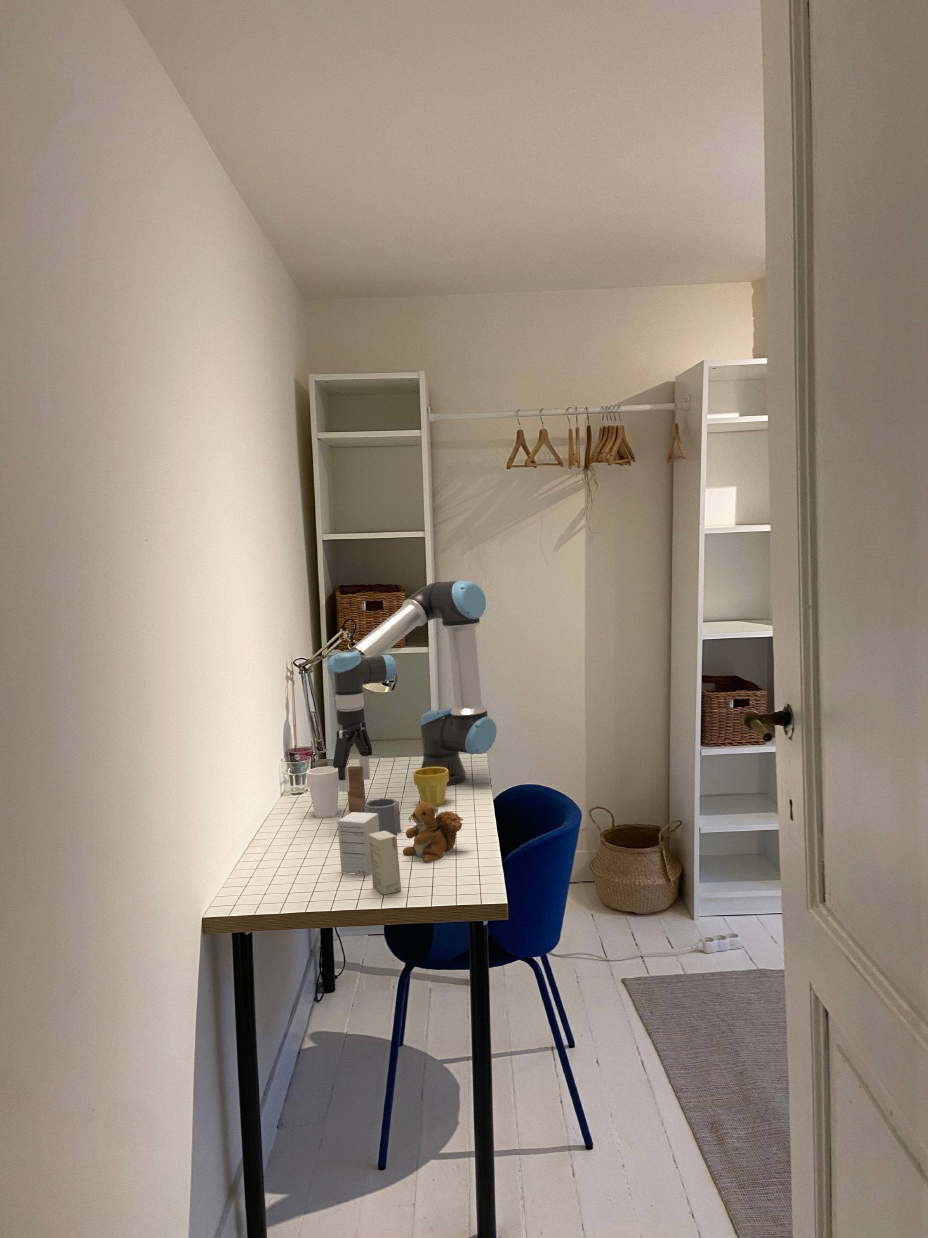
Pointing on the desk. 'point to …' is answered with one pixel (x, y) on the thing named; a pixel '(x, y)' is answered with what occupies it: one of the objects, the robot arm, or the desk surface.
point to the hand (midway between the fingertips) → (355, 785)
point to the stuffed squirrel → (432, 832)
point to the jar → (385, 814)
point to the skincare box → (384, 862)
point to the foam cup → (324, 790)
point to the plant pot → (432, 784)
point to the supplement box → (356, 841)
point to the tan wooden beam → (356, 789)
